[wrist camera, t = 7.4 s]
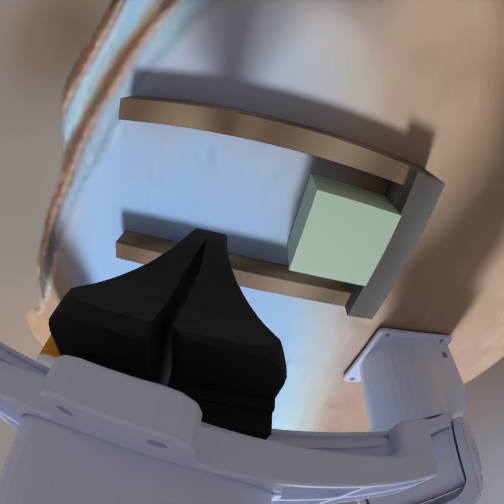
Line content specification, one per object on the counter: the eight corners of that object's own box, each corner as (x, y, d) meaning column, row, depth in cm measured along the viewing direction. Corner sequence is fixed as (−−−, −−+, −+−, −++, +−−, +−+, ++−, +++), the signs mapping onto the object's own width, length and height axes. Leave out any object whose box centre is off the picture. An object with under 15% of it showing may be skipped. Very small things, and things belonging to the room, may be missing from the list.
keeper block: (383, 194, 17) (401, 215, 14) (355, 258, 19) (365, 286, 17) (309, 171, 16) (317, 189, 14) (286, 242, 19) (288, 270, 17)
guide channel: (425, 169, 15) (444, 183, 13) (364, 295, 21) (371, 319, 19) (133, 95, 14) (112, 99, 12) (125, 244, 20) (110, 265, 17)
